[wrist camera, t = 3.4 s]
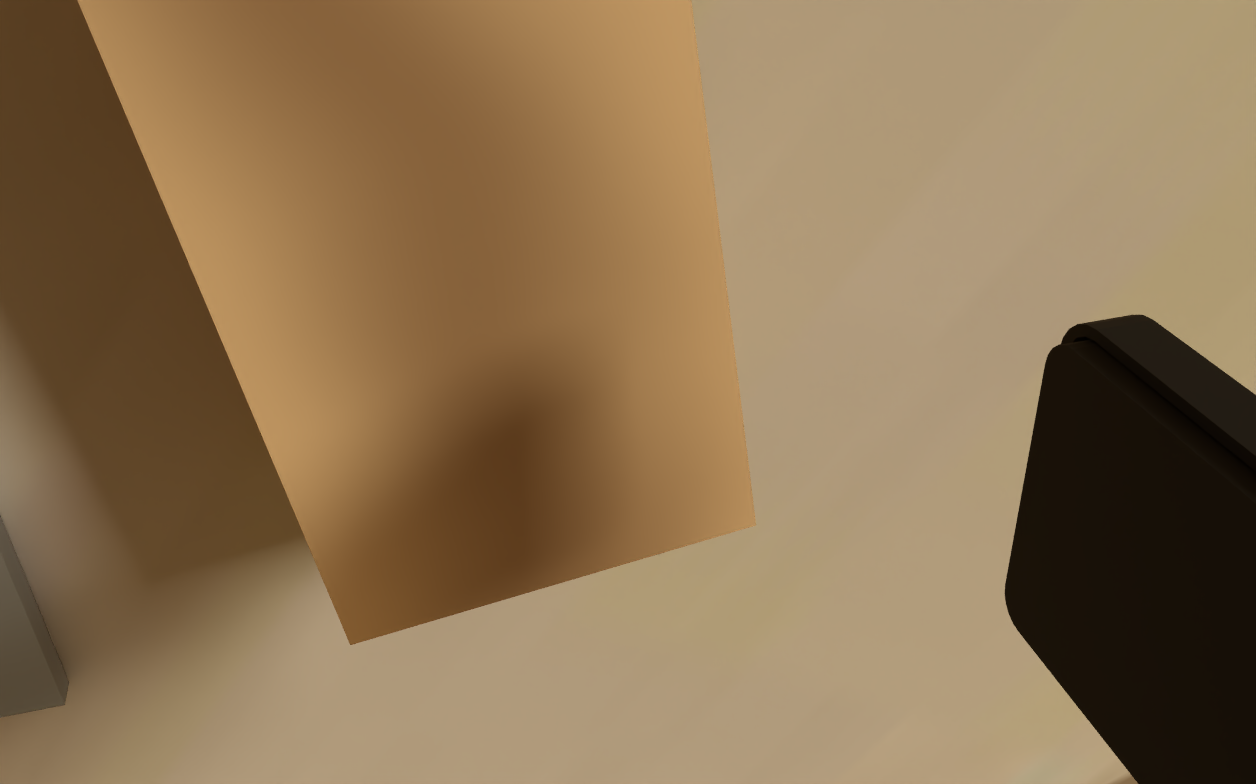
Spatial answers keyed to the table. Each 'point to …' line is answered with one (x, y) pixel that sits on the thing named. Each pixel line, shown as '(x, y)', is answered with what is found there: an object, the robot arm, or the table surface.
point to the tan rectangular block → (453, 277)
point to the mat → (24, 644)
